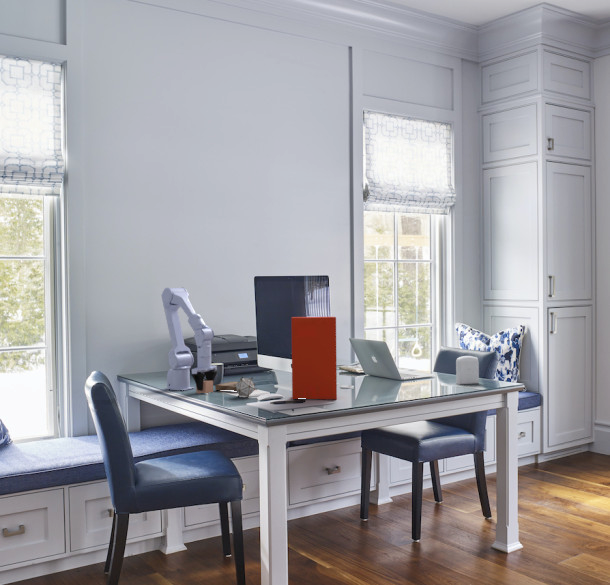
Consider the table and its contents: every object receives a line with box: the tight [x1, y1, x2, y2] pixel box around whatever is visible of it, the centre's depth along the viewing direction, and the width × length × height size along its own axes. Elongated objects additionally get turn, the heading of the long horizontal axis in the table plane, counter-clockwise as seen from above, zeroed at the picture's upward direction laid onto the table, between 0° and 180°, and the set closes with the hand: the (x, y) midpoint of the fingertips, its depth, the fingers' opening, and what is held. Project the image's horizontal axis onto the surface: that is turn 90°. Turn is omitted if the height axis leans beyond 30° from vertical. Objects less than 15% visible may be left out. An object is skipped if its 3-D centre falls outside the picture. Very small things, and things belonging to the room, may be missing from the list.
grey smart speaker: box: [455, 355, 480, 385], centre depth 324 cm, size 10×4×12 cm, turn 101°
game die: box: [233, 376, 258, 398], centre depth 292 cm, size 9×8×10 cm
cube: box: [195, 379, 214, 394], centre depth 304 cm, size 5×5×5 cm
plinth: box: [214, 381, 256, 391], centre depth 311 cm, size 12×12×2 cm
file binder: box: [291, 316, 338, 400], centre depth 287 cm, size 8×17×32 cm, turn 91°
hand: (204, 389), depth 304 cm, fingers open, 6 cm apart
